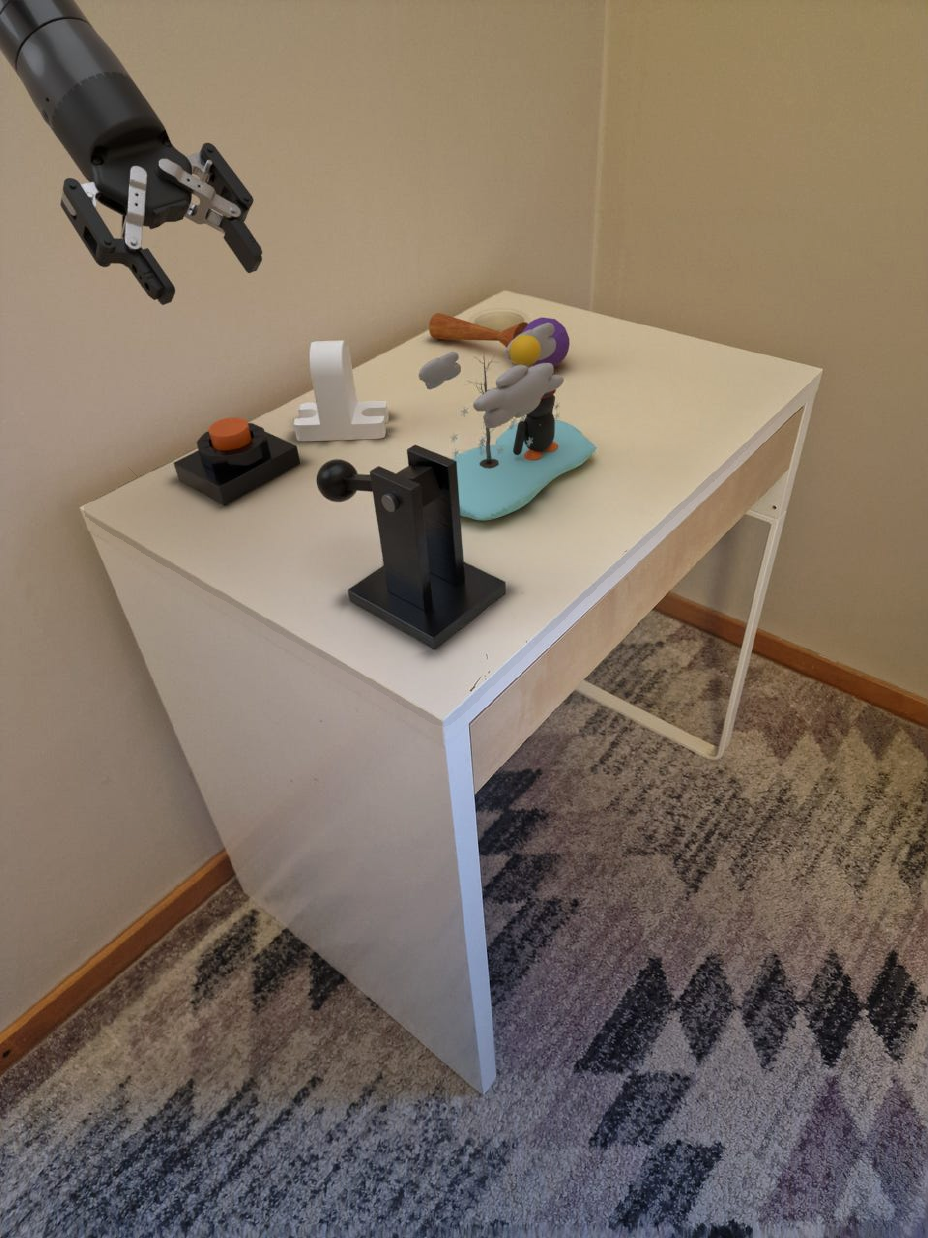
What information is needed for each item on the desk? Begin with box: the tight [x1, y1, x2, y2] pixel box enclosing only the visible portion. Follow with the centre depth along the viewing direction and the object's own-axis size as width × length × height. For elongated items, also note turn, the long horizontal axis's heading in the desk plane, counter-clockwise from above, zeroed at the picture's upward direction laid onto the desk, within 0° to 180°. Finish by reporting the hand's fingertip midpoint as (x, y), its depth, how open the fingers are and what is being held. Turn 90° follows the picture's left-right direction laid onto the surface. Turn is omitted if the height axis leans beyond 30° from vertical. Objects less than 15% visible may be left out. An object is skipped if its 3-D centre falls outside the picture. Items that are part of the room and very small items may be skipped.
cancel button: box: [208, 417, 252, 450], centre depth 87 cm, size 4×4×2 cm
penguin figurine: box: [418, 323, 597, 521], centre depth 81 cm, size 20×11×15 cm, turn 135°
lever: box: [315, 458, 441, 507], centre depth 69 cm, size 13×4×4 cm, turn 49°
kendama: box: [428, 312, 570, 368], centre depth 107 cm, size 6×6×20 cm
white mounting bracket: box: [293, 339, 390, 442], centre depth 93 cm, size 5×10×10 cm, turn 88°
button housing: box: [172, 422, 301, 507], centre depth 89 cm, size 10×8×4 cm
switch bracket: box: [347, 444, 507, 650], centre depth 69 cm, size 10×9×13 cm
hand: (214, 281), depth 69 cm, fingers open, 8 cm apart
